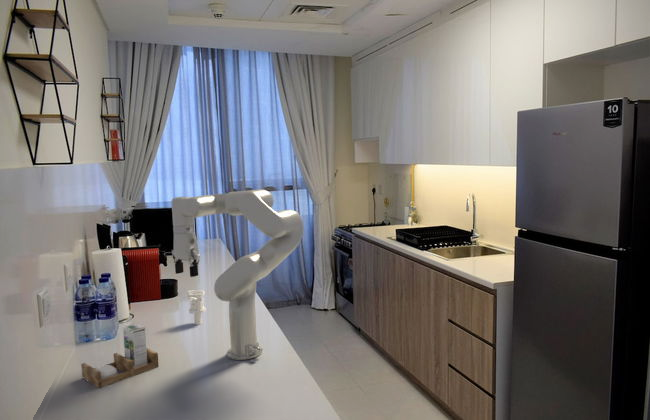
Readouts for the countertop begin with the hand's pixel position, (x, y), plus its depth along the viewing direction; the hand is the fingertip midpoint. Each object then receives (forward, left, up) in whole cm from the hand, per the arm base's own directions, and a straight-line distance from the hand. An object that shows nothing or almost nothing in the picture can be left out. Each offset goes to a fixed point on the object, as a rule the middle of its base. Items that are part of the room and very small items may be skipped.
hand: (186, 274), depth 194 cm
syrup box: (-1, +23, -28) cm, 37 cm away
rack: (-1, +28, -28) cm, 39 cm away
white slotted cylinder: (+22, -18, -28) cm, 40 cm away
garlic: (0, +34, -29) cm, 44 cm away
